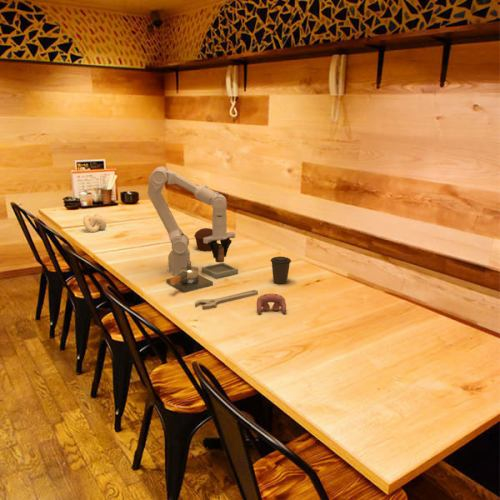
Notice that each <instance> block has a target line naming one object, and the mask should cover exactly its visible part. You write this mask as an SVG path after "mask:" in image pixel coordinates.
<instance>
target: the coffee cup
mask: <svg viewBox="0 0 500 500" xmlns="http://www.w3.org/2000/svg"><path fill="white" fill-rule="evenodd" d="M270 262H271V271H272V281H273V284H276V285H286V284H287V282H288V278H289V277H288V276H289V271H290V266H291V265H290V264H291V262H292V259H291V258H289V257H286V256H282V255H281V256H275V257H274V256H273V257H272V258H271V259H270Z"/></svg>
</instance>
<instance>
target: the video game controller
mask: <svg viewBox="0 0 500 500" xmlns="http://www.w3.org/2000/svg"><path fill="white" fill-rule="evenodd" d="M269 303H273V304H272V311H274V312H275V311H278V310H279V309H280V308H281V311H282V314H283V315H286V313H287V303H286V299H285V297H284V296H283V295H281V294H277V293H264V294H260V296H259V297H257V299H256V311H257V314H258V315H261V313H262V309H263V310H264V311H266V312H267V311H269V310H270V308H271V307H270V304H269Z"/></svg>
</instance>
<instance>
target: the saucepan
mask: <svg viewBox="0 0 500 500" xmlns="http://www.w3.org/2000/svg"><path fill="white" fill-rule="evenodd" d="M198 275H199V268H198V267H196V266H192V261H191V260H190V261H187V267H182V268H181V269H180V274H178V275H177V276H175V275H174V277H171V278H172V279H170V278H169V279H170V284H171V285H175V284H177V283H178V282H180V281H181V282H183V283H195V282H197V281H198V280H199V278H198ZM171 285H170V286H171Z"/></svg>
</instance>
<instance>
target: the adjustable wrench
mask: <svg viewBox="0 0 500 500" xmlns="http://www.w3.org/2000/svg"><path fill="white" fill-rule="evenodd" d="M258 293H259V292H258V290H256V289H252V290H247V291H243V292H240V293H239V292H238V293H236V294H231V295H227V296H222V297H217V298H212V299H211V298H209V299H204V298H203V299H199V300H196V301H195V302H194V307H195V308H198V307H199V306H201V309H202V310H211V309H215V308H217V305H220V304H224V303H228V302H229V303H230V302H232V301H237V300H241V299H244V298H245V299H246V298H250V297H253V296H257V295H259V294H258Z"/></svg>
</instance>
